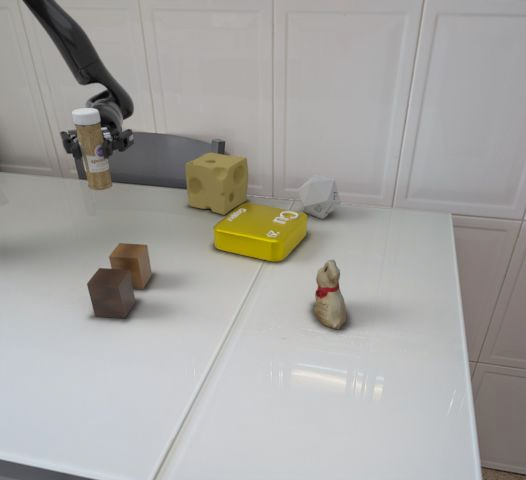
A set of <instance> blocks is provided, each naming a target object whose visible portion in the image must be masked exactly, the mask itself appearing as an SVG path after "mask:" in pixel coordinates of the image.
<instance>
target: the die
mask: <svg viewBox="0 0 526 480" xmlns="http://www.w3.org/2000/svg"><path fill="white" fill-rule="evenodd" d="M297 193H298V196H299V199H300V203H301V206H302V209H303V211H304V212H303V213H305V214H306V215H310V216H312V217H315V218H318V219H321V220H324V219H325V218H326V217H327V216H328V215H329V214H330V213H332V212H333V211H334V210H335V209H336V208H337V207H338V206H340V205H341V204H342V202H341V198H340V194H339V191H338V187H337V184H336V179H334V178H331V177H328V176H324V175H321V174H319V173H315V174H313V175H312V176H311V177H310V178H309V179H308V180H307V181H306V182H304V183H303V185H301V186H300V187H299V188H297Z"/></svg>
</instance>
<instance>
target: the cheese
mask: <svg viewBox="0 0 526 480" xmlns="http://www.w3.org/2000/svg"><path fill="white" fill-rule="evenodd" d="M248 165H249V164H248V159H247V157H245V156H237V155H227V154H221V153H217V152H211V151H209V152H207V153H205V154H203V155H201V156H199V157H197V158H195V159H193V160H190V161H188V162H186V163H184V167H185V168H184V169H185V171H184V172H185V179H186V180H185V181H186V193H187V200H188V205H189V207H193V208H197V209H201V210H209V209H210V210H211V212H213V213H215V214H220V215H223V216H224V215H227V214H228V213H230V212H231V211H232V210H234V209H236V208H237V207H239V206H240V205H242V204H244V203H246V201H247V196H248V186H249V166H248Z"/></svg>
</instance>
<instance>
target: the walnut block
mask: <svg viewBox="0 0 526 480" xmlns="http://www.w3.org/2000/svg"><path fill="white" fill-rule="evenodd" d="M86 287H87V290H88V294H89V298H90V303H91V305H92V309H93V314H94V317H98V318H109V319H110V318H111V319H122V320H124V319H126V318H127V316H128V315H129V313H131V312H130V311H131V310H132V308H133V307H134V305H135V303H136V296H135V292H134V289H133V286H132V280H131V275H130V270H123V269H111V268H106V267H99V268H98V269H97V270H96V271H95V273H94V274H93V275H92V277H91V278H90V279H89V280H88V282H87V283H86Z"/></svg>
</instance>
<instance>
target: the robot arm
mask: <svg viewBox="0 0 526 480" xmlns="http://www.w3.org/2000/svg"><path fill="white" fill-rule="evenodd" d="M22 2H23V3H24V5H25V6H26V7H27V9H28V10H29V11H30V12H31V14H32V15H33V17H34V18H35V19H36V20H37V22H38V23H39V24H40V26H41V27H42V28H43V30H44V31H45V33H46V34H47V35H48V37H49V39H50V40H51V41H52V43H53V45H54V46H55V47H56V49H57V51H58V53H59V54H60V56H61V58H62V59H63V61H64V63H65V64H66V67H67V68H68V70H69V71H70V73H71V75H72V76H73V78H74V79H75V81H76V82H77V83H78V84H79V85H80V86H82V87H83V86H85V87H86V86H89V85H96V84H99V85H102V86H103V87H104V88H106V89H104V90H102V91H101V92H99V93H97V94H94V95H92V96H91V97H89V98H88V99H87V100H86V101H85V108H94V109H97V110H98V111H99V115H100V120H101V121H100V123H101V124H100V126H101V131H102V136H103V140H104V142H103V145H102V150H103V155H104V159H109V158H110V157H112V156H114V155H113V154H114V153H116V151H117V150H118V152H120V153H123V152H126V151H127V150H128V149H129V148H130V147H132V145H134V144H135V141H134V140H135V139H134V134H133V129H132V128H127V129H125V130H123V121H125V120H127V119H129V118H131V117H132V116H133V115H134V112H135V103H134V100H133V98H132V96H131V95H130V94H129V93H128V91H127V90H126V89H125V88H124V87H123V86H122V85H121V83H119V82H118V80H117V79H116V78H115V77H114V76H113V75H112V73H111V72H110V70H109V69H108V68H107V66H106V65H105V64H104V62H103V60H102V59H101V57H100V55H99V53H98V51H97V50H96V48H95V45H94V44H93V42H92V41H91V39H90V37H89V36H88V33H86V31H85V30H84V29H83V27H82V26H81V24H80V23H78V22H77V21H76V19H74V17H72V16H71V15H70V13H68V12H67V11H66V10H65V9H64V8H63V7H62V6H61V5H60V4H59V3H58V2H57V0H22ZM59 135H60V140H61V143H62V147H63V149H64V151H65V153H66V154H67V155H68V154H69V155H71V156H72V157H73V158H75V160H76V161H80V160H82V155H81V150H80V146H79V140H78V135H77V130H76V131H75V132H74V134H71V133H70V132H67V131H64V130H62V131H60V132H59Z"/></svg>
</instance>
